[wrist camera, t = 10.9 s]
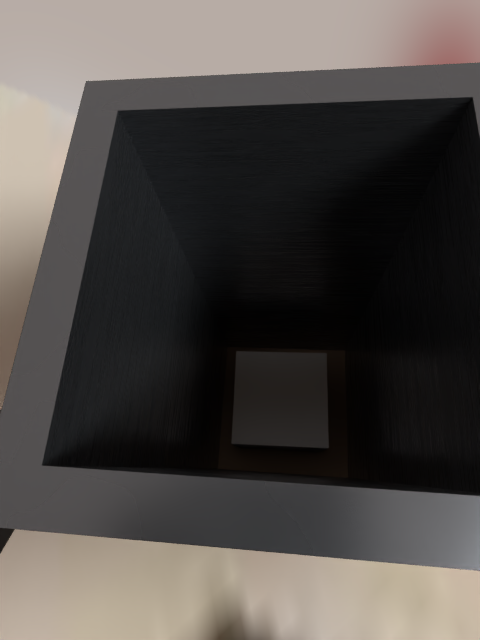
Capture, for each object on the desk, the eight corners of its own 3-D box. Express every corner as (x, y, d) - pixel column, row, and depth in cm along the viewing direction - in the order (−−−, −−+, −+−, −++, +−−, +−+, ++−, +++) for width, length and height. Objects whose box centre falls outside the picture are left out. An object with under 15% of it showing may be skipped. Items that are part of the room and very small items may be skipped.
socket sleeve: (365, 496, 15) (634, 584, 3) (200, 484, 15) (-28, 524, 4) (359, 336, 17) (514, 60, 5) (214, 332, 17) (85, 81, 6)
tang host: (392, 532, 15) (430, 555, 11) (172, 517, 16) (136, 533, 12) (378, 320, 18) (404, 279, 14) (191, 318, 19) (167, 279, 15)
